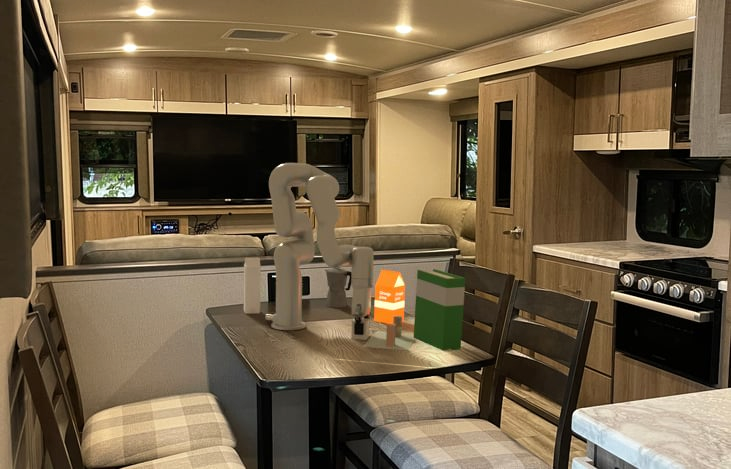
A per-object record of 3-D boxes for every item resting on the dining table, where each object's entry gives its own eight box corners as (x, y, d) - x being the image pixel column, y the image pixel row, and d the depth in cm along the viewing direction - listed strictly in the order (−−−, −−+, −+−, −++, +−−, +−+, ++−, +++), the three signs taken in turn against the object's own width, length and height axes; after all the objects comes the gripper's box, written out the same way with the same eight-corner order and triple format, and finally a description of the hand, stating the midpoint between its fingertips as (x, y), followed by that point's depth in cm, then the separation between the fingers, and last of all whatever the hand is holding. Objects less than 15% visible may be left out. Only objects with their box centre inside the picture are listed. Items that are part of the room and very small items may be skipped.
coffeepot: (317, 304, 290) (318, 263, 289) (332, 301, 298) (333, 261, 296) (344, 310, 281) (346, 267, 279) (359, 307, 288) (360, 265, 286)
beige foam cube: (351, 339, 234) (351, 320, 234) (354, 336, 239) (355, 317, 239) (366, 340, 233) (366, 322, 233) (369, 337, 238) (369, 318, 238)
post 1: (386, 345, 226) (386, 325, 225) (387, 343, 228) (388, 323, 228) (393, 346, 225) (394, 325, 225) (395, 344, 228) (395, 324, 227)
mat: (362, 347, 224) (362, 346, 224) (376, 332, 246) (376, 331, 246) (407, 351, 221) (407, 350, 221) (417, 335, 243) (417, 334, 243)
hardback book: (413, 337, 238) (417, 269, 235) (431, 335, 241) (435, 269, 239) (442, 351, 223) (446, 279, 220) (460, 349, 226) (465, 278, 223)
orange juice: (392, 325, 257) (394, 273, 255) (373, 321, 262) (375, 270, 260) (404, 322, 263) (405, 271, 261) (385, 318, 268) (387, 268, 266)
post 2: (392, 336, 239) (393, 316, 238) (394, 334, 241) (394, 315, 240) (400, 337, 238) (400, 317, 237) (401, 335, 241) (402, 315, 240)
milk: (260, 313, 271) (261, 258, 269) (244, 313, 270) (245, 259, 267) (258, 310, 277) (259, 256, 275) (243, 310, 275) (244, 256, 273)
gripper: (357, 278, 243) (357, 325, 245) (345, 286, 227) (345, 336, 228) (377, 279, 242) (377, 326, 243) (367, 287, 225) (367, 337, 226)
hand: (362, 331), depth 236 cm, fingers open, 9 cm apart
